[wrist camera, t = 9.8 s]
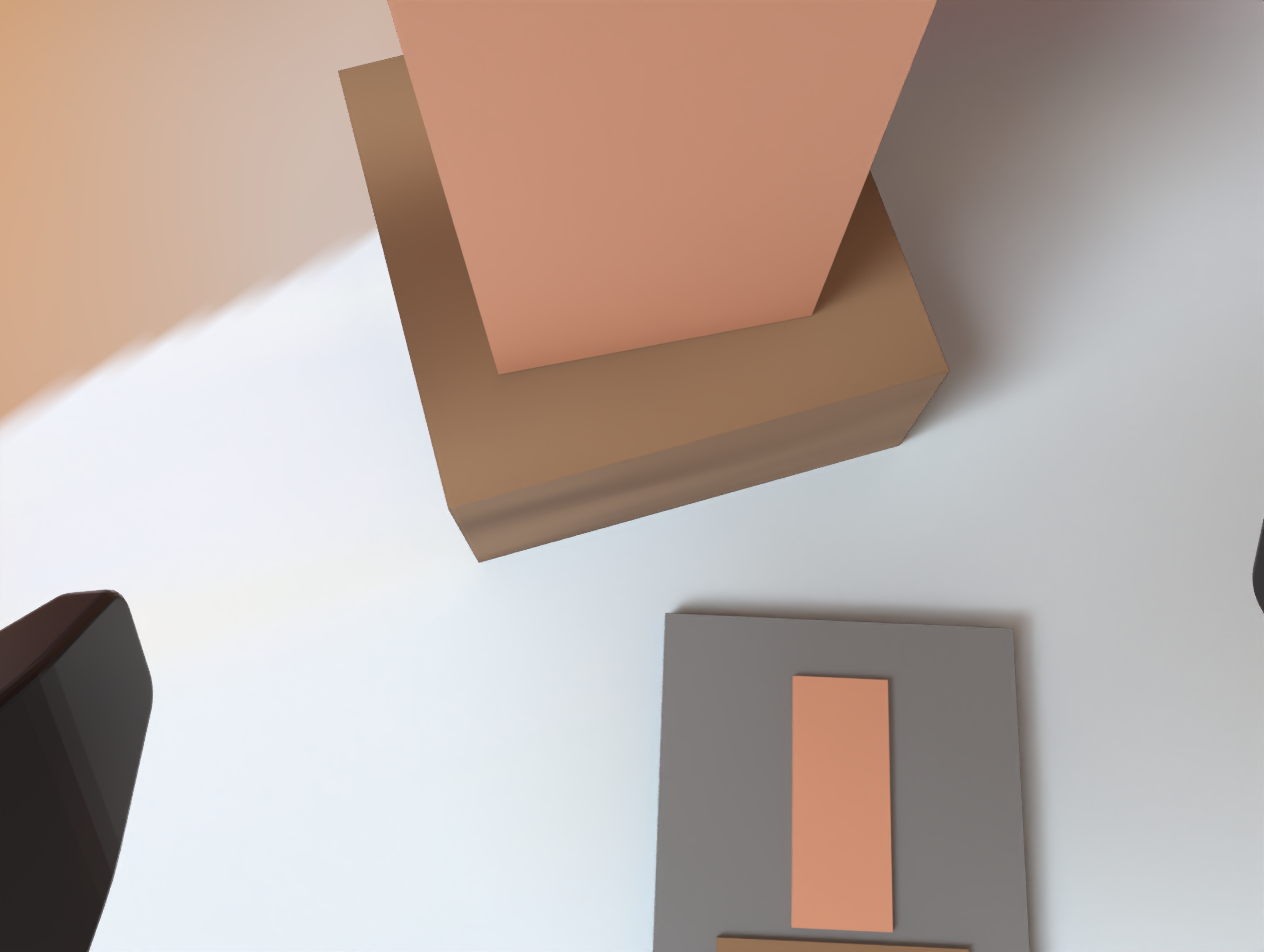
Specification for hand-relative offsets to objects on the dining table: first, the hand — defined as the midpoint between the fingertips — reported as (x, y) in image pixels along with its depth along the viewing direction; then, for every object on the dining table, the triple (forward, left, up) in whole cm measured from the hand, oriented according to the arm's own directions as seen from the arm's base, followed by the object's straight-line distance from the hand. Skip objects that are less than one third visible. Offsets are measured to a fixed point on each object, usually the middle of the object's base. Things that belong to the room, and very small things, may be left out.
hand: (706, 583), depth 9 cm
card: (-2, -3, -11) cm, 12 cm away
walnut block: (+8, +1, -12) cm, 14 cm away
